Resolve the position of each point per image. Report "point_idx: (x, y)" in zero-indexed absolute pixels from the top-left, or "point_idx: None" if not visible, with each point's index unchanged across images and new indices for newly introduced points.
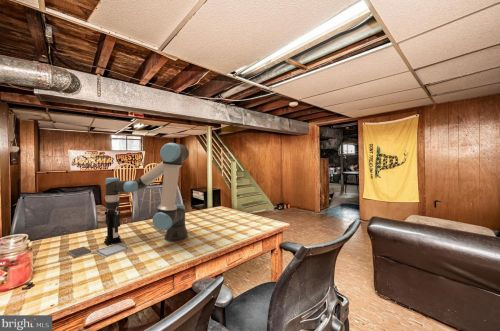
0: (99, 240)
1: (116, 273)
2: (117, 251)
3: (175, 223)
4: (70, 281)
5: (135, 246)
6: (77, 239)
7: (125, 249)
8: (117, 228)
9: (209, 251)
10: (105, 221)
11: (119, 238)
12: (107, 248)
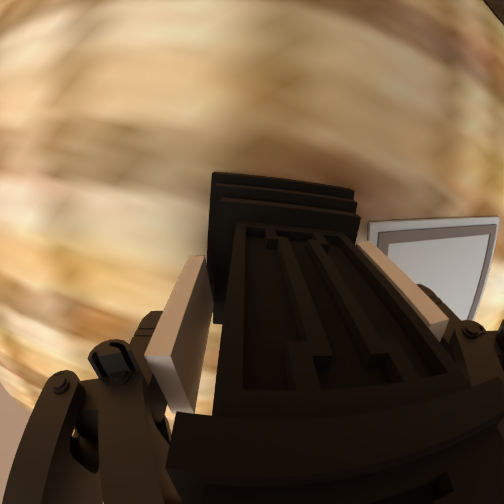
0: (122, 298)
1: None
2: (478, 291)
3: None
4: None
5: (496, 178)
6: (38, 353)
7: (491, 248)
8: (455, 324)
9: None
10: (81, 454)
11: (342, 209)
12: None
